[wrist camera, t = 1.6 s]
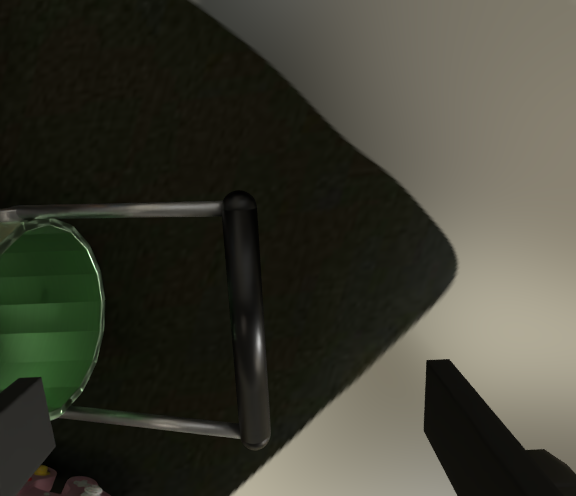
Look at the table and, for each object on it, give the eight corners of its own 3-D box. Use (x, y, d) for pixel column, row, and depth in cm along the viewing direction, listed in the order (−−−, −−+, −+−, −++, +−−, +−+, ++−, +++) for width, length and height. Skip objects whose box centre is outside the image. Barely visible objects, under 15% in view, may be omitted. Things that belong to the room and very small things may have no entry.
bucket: (-205, 510, 17) (268, 494, 17) (-324, 220, 14) (248, 195, 14) (-16, 376, 28) (276, 365, 28) (-61, 195, 25) (266, 181, 25)
